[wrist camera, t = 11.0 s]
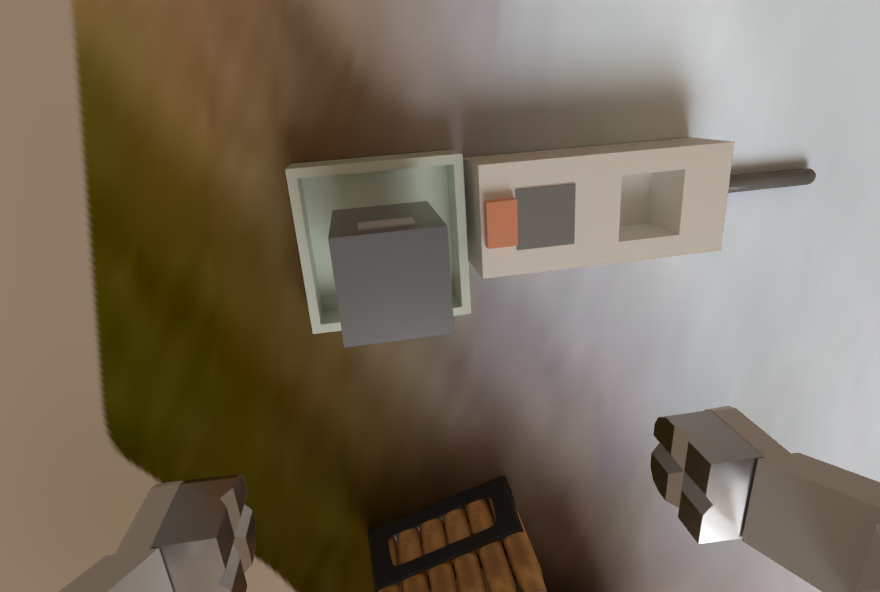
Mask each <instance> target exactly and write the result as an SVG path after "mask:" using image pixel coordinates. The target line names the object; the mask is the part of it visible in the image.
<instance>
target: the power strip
mask: <svg viewBox="0 0 880 592" xmlns="http://www.w3.org/2000/svg"><path fill="white" fill-rule="evenodd" d="M733 149H734V142H731V141H721V140H711V139H700V138H690V137H689V138H677V139H666V140H655V141H644V142H633V143H621V144H610V145H599V146H588V147H577V148H565V149H554V150H543V151H532V152H521V153H510V154H498V155H487V156H476V157H465V158H463V170H464V189H465V208H466V227H467V246H468V260H469V261H470V262H471V264H472V265H473V266H474V268H475V269H476V270H477V272H478V273H479V274H480V275H481V277H482V278H483V279H486V278H494V277H502V276H511V275H519V274H527V273H536V272H544V271H552V270H561V269H569V268H577V267H586V266H594V265H602V264H611V263H619V262H627V261H636V260H644V259H652V258H661V257H669V256H678V255H686V254H694V253H703V252H711V251H719V250H721V246H722V238H723V230H724V222H725V214H726V206H727V197H728V193H731V192H741V191H750V190H760V189H769V188H779V187H788V186H798V185H807V184H810V183H812V182H813V181H814V180H815V177H816V174H815V172H814V171H813V170H812V169H797V170H787V171H777V172H767V173H758V174H748V175H738V176H730V173H731V165H732V157H733Z"/></svg>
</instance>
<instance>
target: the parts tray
mask: <svg viewBox="0 0 880 592" xmlns="http://www.w3.org/2000/svg"><path fill="white" fill-rule="evenodd" d="M285 172H286V178H287V184H288V190H289V196H290V202H291V207H292V213H293V219H294V225H295V231H296V237H297V243H298V249H299V255H300V260H301V266H302V272H303V278H304V284H305V290H306V296H307V302H308V308H309V313H310V319H311V325H312V331H313V334H317V333H325V332H333V331H340V330H342V329H341V322H340V315H339V309H338V302H337V295H336V288H335V282H334V275H333V268H332V261H331V255H330V248H329V241H328V236H329V229H330V223H331V216H332V210H340V209H350V208H360V207H370V206H380V205H390V204H400V203H410V202H420V201H428V203H429V204H430V205H431V206H432V207H433V209H434V210H435V211H436V212H437V214H438V215H439V216H440V217H441V219H442V220H443V221H444V222H445V223H446V225H447V227H448V242H449V257H450V272H451V288H452V303H453V316H458V315H465V314H471V303H470V284H469V265H468V246H467V227H466V208H465V189H464V170H463V153H460V152H458V151H456V150H453V149H452V150H441V151H429V152H418V153H406V154H395V155H383V156H372V157H360V158H349V159H338V160H326V161H315V162H303V163H292V164H290V165H289V166H288V167H287V168H286V169H285Z"/></svg>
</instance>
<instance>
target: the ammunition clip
mask: <svg viewBox="0 0 880 592" xmlns="http://www.w3.org/2000/svg"><path fill="white" fill-rule="evenodd" d="M492 515H493V516H494V519H495V522H494V519H493V516H492ZM469 524H470V527H471V530H470V527H469ZM471 531H472V534H473V535H472V534H471ZM446 534H447V538H446ZM368 538H369V547H370V556H371V565H372V574H373V584H374V591H375V592H430V591H429V590H431V592H458V589H457V584H456V579H457V581H458V586H459V590H460V592H487V588H486V584H485V581H484V577H483V574H482V570H481V568H483V571H484V575H485V578H486V581H487V585H488V588H489V591H490V592H516V587H515V581H514V578H513V575H512V572H511V569H510V566H509V563H508V560H507V557H508V558H509V561H510V564H511V567H512V569H513V572H514V575H515V578H516V580H517V582H518V584H519V585H520V587H521V588H522V590H523V592H547V590H546V587H545V584H544V581H543V576H542V571H541V568H540V565H539V563H538V560H537V558H536V555H535V553H534V550H533V548H532V545H531V543H530V540H529V538H528V535H527V533H526V531H525V528H524V526H523V523H522V521H521V518H520V516H519V513H518V510H517V507H516V504H515V501H514V498H513V495H512V493H511V490H510V488H509V485H508V483H507V480H506V478H505V477H504V476H500V477H498V478H495V479H493V480H491V481H488V482H486V483H483V484H481V485H479V486H476V487H474V488H471V489H469V490H467V491H464V492H462V493H459V494H457V495H455V496H452V497H450V498H447V499H445V500H443V501H440V502H438V503H435V504H433V505H431V506H428V507H426V508H423V509H421V510H418V511H416V512H414V513H411V514H409V515H406V516H404V517H402V518H399V519H397V520H394V521H392V522H390V523H387V524H385V525H382V526H380V527H378V528H375V529H373V530H370V531H369V532H368ZM447 539H448V543H449V545H448V543H447ZM500 539H502V541H503V542H502V543H501V540H500ZM422 544H423V547H424V553H425V555H424V553H423V547H422ZM476 549H477V551H478V554H477V552H476ZM399 560H400V565H399ZM451 560H453V565H452V561H451ZM426 570H428V575H427V572H426Z"/></svg>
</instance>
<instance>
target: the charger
mask: <svg viewBox="0 0 880 592" xmlns="http://www.w3.org/2000/svg"><path fill="white" fill-rule="evenodd" d="M328 241H329V248H330V255H331V261H332V268H333V275H334V282H335V288H336V295H337V302H338V309H339V315H340V322H341V329H342V336H343V342H344V348H346V347H353V346H361V345H368V344H376V343H383V342H391V341H398V340H406V339H414V338H421V337H429V336H436V335H444V334H451V333H454V318H453V303H452V288H451V272H450V257H449V242H448V227H447V225H446V223H445V222H444V221H443V220H442V219H441V217H440V216H439V215H438V214H437V212H436V211H435V210H434V209H433V207H432V206H431V205H430V204H429V203H428V201H420V202H410V203H400V204H390V205H380V206H370V207H360V208H350V209H340V210H332V216H331V223H330V229H329V236H328Z"/></svg>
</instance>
